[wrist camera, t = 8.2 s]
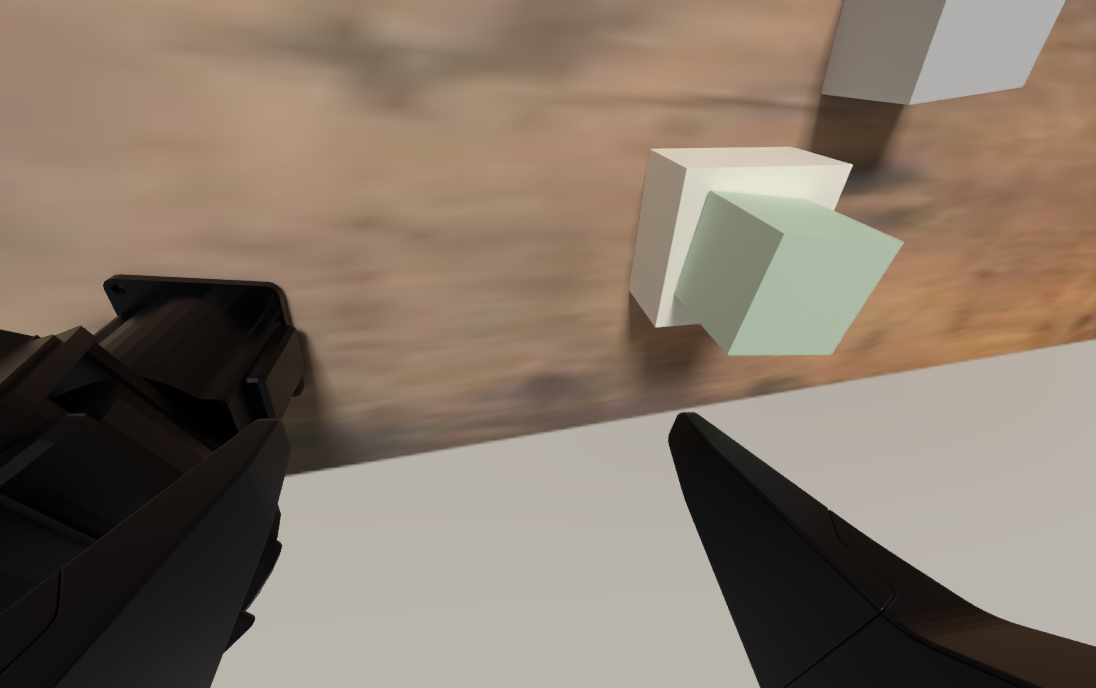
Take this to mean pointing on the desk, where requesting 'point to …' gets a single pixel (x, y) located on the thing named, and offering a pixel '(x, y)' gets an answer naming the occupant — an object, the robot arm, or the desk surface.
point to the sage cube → (779, 273)
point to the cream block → (681, 197)
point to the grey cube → (935, 47)
